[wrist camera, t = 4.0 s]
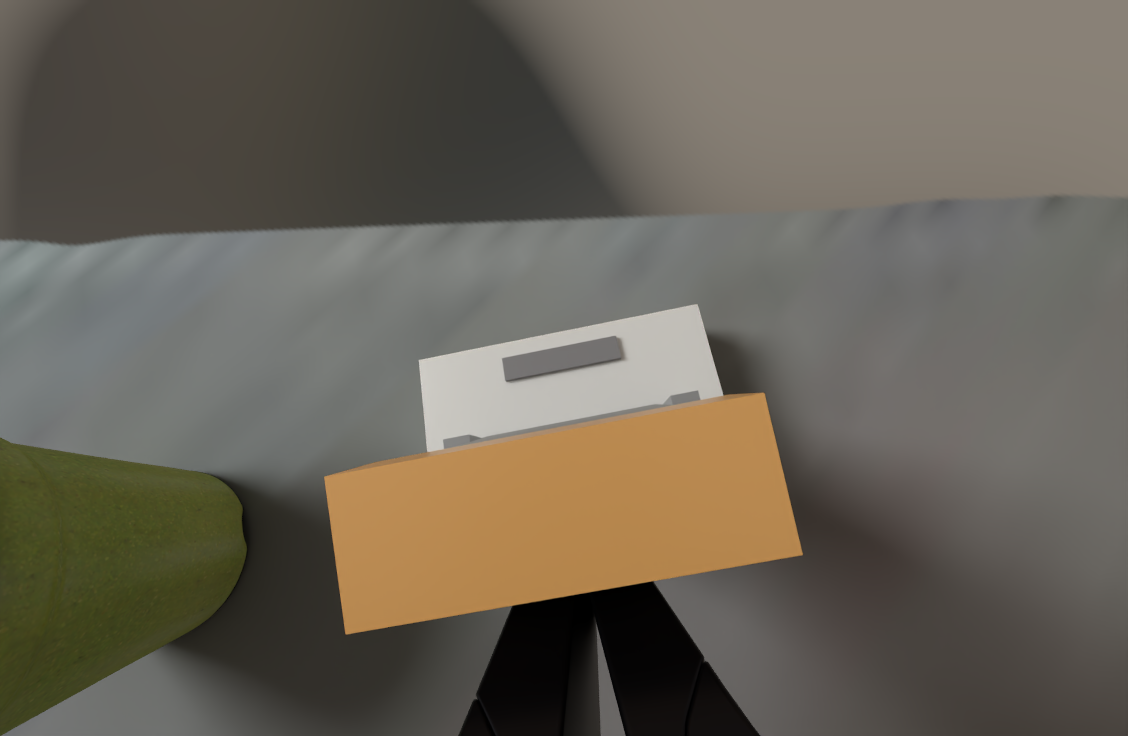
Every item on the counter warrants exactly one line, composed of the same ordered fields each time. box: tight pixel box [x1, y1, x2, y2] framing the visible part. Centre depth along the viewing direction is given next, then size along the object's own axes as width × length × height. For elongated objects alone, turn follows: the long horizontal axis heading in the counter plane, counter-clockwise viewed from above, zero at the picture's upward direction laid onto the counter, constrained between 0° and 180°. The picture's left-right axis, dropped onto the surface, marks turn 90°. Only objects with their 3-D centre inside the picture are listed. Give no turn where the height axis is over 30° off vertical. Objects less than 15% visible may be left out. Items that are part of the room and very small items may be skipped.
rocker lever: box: [324, 393, 803, 634], centre depth 9 cm, size 2×5×8 cm, turn 100°
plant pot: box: [0, 438, 247, 736], centre depth 12 cm, size 9×9×9 cm
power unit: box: [419, 304, 723, 452], centre depth 14 cm, size 7×10×4 cm
